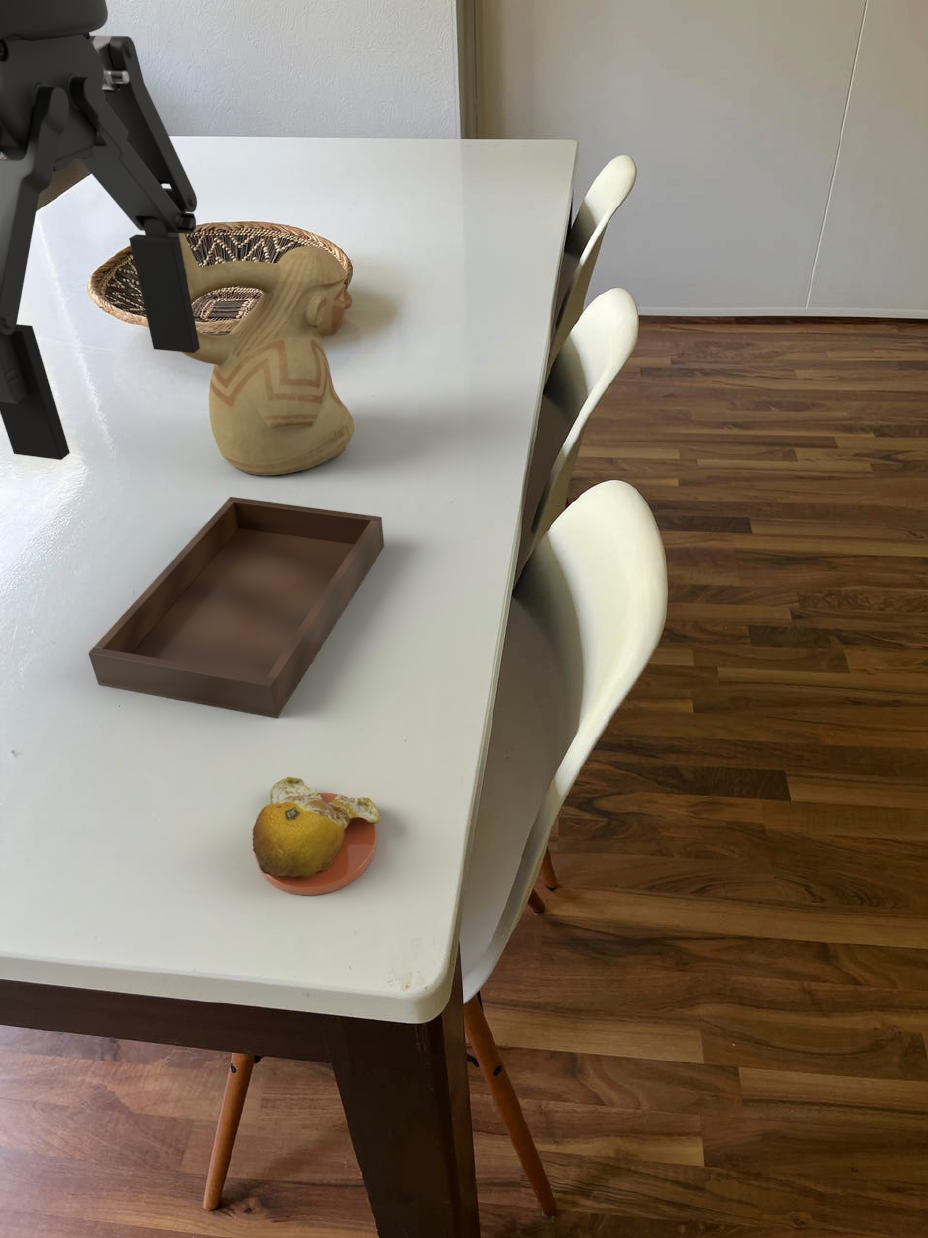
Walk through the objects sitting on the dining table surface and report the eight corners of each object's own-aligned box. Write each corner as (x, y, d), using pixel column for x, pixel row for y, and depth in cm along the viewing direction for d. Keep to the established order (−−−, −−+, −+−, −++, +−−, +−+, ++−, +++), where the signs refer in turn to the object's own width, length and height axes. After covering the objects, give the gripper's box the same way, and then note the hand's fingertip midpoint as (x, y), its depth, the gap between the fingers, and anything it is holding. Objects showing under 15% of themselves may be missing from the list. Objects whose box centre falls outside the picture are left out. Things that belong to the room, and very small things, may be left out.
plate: (351, 907, 62) (350, 899, 61) (234, 881, 63) (232, 872, 63) (393, 812, 68) (392, 805, 67) (285, 790, 70) (284, 783, 69)
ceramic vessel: (389, 463, 107) (371, 224, 92) (210, 505, 101) (159, 256, 86) (340, 402, 119) (316, 183, 104) (177, 436, 113) (127, 208, 98)
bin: (277, 718, 75) (271, 685, 73) (98, 684, 79) (87, 652, 77) (384, 546, 94) (381, 516, 92) (235, 525, 98) (230, 496, 96)
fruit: (390, 805, 67) (386, 767, 65) (339, 902, 61) (333, 864, 59) (281, 778, 69) (273, 740, 67) (221, 869, 63) (211, 831, 61)
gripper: (-154, -55, 31) (38, 521, 44) (215, -91, 50) (273, 319, 63) (-339, -54, 33) (-102, 501, 46) (85, -89, 52) (168, 310, 65)
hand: (116, 396), depth 54 cm, fingers open, 13 cm apart
